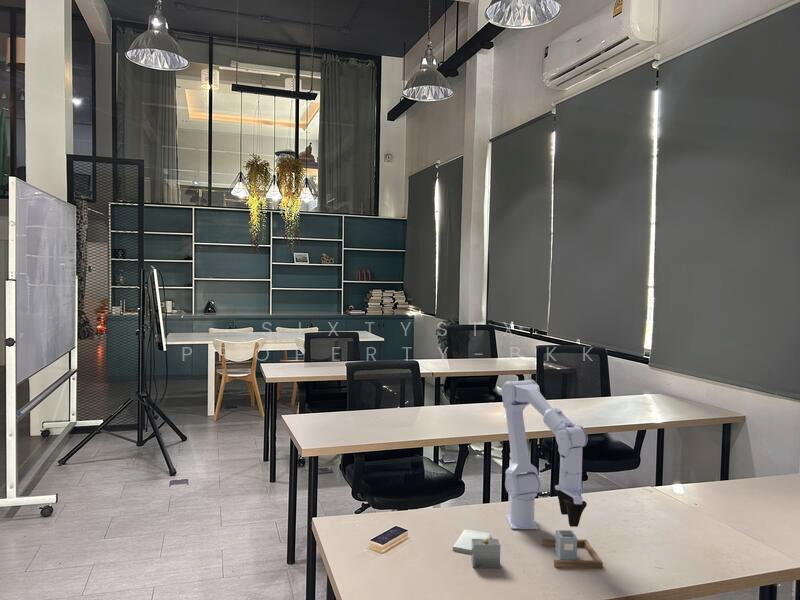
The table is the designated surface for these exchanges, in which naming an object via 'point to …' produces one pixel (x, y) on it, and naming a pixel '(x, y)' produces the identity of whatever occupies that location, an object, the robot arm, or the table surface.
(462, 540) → the hard drive
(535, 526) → the robot arm
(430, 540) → the table surface
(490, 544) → the unit
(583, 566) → the bay
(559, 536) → the block
